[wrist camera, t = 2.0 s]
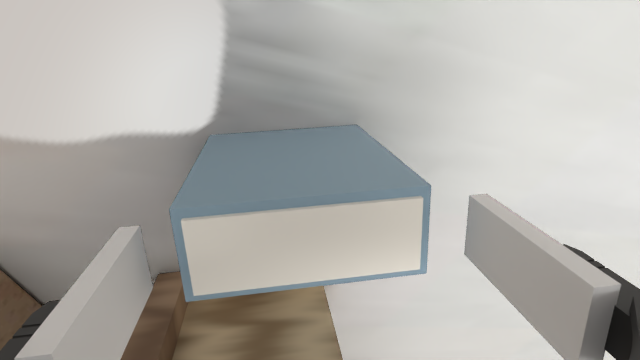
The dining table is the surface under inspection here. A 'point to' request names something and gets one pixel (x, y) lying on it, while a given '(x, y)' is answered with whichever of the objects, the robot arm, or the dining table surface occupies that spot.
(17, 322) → the wooden block
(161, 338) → the shelf corner
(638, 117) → the dining table surface
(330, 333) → the bookend
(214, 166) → the book box
